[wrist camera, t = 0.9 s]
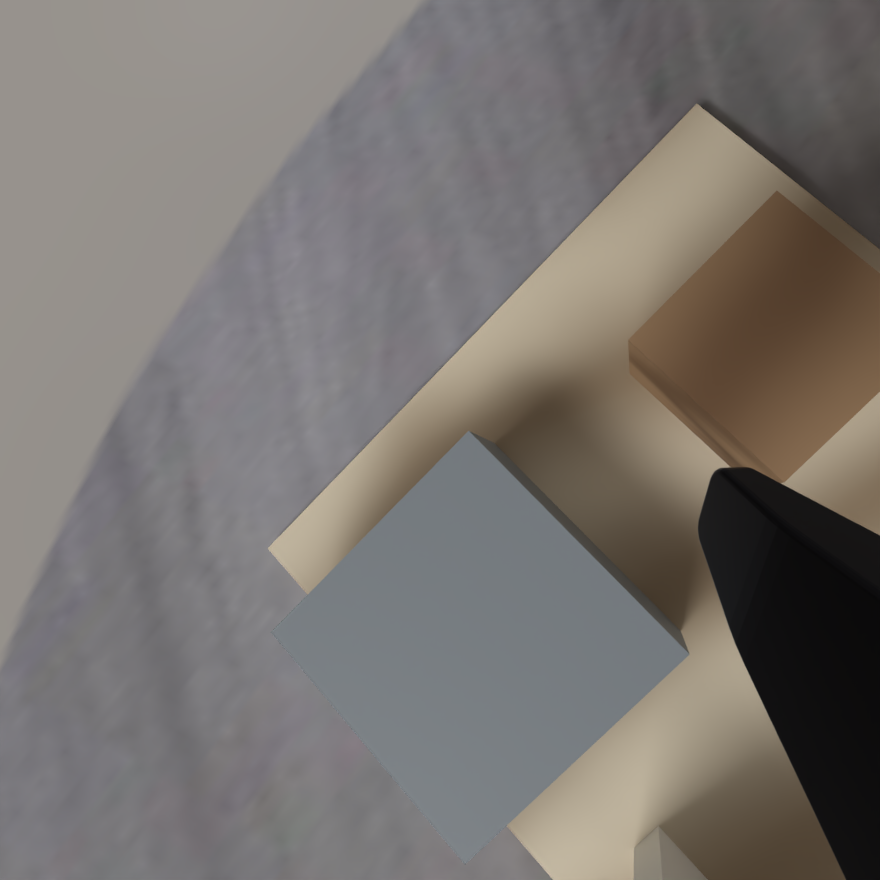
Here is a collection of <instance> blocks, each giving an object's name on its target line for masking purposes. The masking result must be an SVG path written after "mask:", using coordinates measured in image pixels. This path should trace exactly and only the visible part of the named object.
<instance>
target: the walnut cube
mask: <svg viewBox="0 0 880 880" xmlns="http://www.w3.org/2000/svg"><path fill="white" fill-rule="evenodd" d="M628 349H629V373H630V375H632V376H633V377H634V378H635V379H636V380H637V381H638V382H639V383H640V384H641V385H642V386H643V387H645V388H646V389H647V390H648V391H649V392H650V393H651V394H652V395H653V396H654V397H655V398H656V399H658V400H659V401H660V402H661V403H662V404H663V405H664V406H665V407H666V408H667V409H668V410H669V411H670V412H672V413H673V414H674V415H675V416H676V417H677V418H678V419H679V420H680V421H681V422H682V423H683V424H685V425H686V426H687V427H688V428H689V429H690V430H691V431H692V432H693V433H694V434H695V435H696V436H698V437H699V438H700V439H701V440H702V441H703V442H704V443H705V444H706V445H707V446H708V447H709V448H710V449H712V450H713V451H714V452H715V453H716V454H717V455H718V456H719V457H720V458H721V459H722V460H723V461H725V462H726V463H727V464H728V465H729V466H730V467H749V468H752V469H754V470H756V471H758V472H760V473H762V474H764V475H766V476H768V477H770V478H772V479H774V480H775V481H777V482H779V483H784V482H785V481H786V480H787V479H789V478H790V477H791V476H792V475H793V474H794V473H795V472H796V471H797V470H798V469H799V468H800V467H801V466H802V465H803V464H804V463H805V462H806V461H807V460H808V459H810V458H811V457H812V456H813V455H814V454H815V453H816V452H817V451H818V450H819V449H820V448H821V447H822V446H823V445H824V444H825V443H826V442H827V441H828V440H830V439H831V438H832V437H833V436H834V435H835V434H836V433H837V432H838V431H839V430H840V429H841V428H842V427H843V426H844V425H845V424H846V423H847V422H848V421H850V420H851V419H852V418H853V417H854V416H855V415H856V414H857V413H858V412H859V411H860V410H861V409H862V408H863V407H864V406H865V405H866V404H867V403H868V402H869V401H871V400H872V399H873V398H874V397H875V396H876V395H877V394H878V393H879V392H880V273H879V272H878V271H876V270H875V269H874V268H873V267H871V266H870V265H869V264H868V263H866V262H865V261H864V260H863V259H861V258H860V257H859V256H858V255H857V254H855V253H854V252H853V251H852V250H850V249H849V248H848V247H847V246H845V245H844V244H843V243H842V242H840V241H839V240H838V239H837V238H835V237H834V236H833V235H832V234H830V233H829V232H828V231H827V230H825V229H824V228H823V227H822V226H821V225H819V224H818V223H817V222H816V221H814V220H813V219H812V218H811V217H809V216H808V215H807V214H806V213H804V212H803V211H802V210H801V209H799V208H798V207H797V206H796V205H794V204H793V203H792V202H791V201H789V200H788V199H787V198H786V197H784V196H783V195H782V194H781V193H780V192H778V191H776V192H775V193H774V194H773V195H772V196H771V197H770V198H769V199H768V200H767V201H766V202H765V203H764V204H763V205H762V206H761V207H760V208H759V209H758V210H757V211H756V212H755V213H754V214H753V215H752V216H751V217H750V218H749V219H748V220H747V221H746V222H745V223H744V224H743V225H742V226H741V227H740V228H739V229H738V230H737V231H736V232H735V233H734V234H733V235H732V236H731V237H730V238H729V239H728V240H727V241H726V242H725V243H724V244H723V245H722V246H721V247H720V248H719V249H718V250H717V251H716V252H715V253H714V254H713V255H712V256H711V257H710V258H709V259H708V260H707V261H706V262H705V263H704V264H703V265H702V266H701V267H700V268H699V269H698V270H697V271H696V272H695V273H694V274H693V275H692V276H691V277H690V278H689V279H688V280H687V281H686V282H685V283H684V284H683V285H682V286H681V287H680V288H679V289H678V290H677V291H676V292H675V293H674V294H673V295H672V296H671V297H670V298H669V299H668V300H667V301H666V302H665V303H664V304H663V305H662V306H661V307H660V308H659V309H658V310H657V311H656V312H655V313H654V314H653V315H652V316H651V317H650V318H649V319H648V320H647V321H646V322H645V323H644V324H643V325H642V326H641V327H640V328H639V329H638V330H637V331H636V332H635V333H634V334H633V335H632V336H631V337H630V338H629V339H628Z"/></svg>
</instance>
